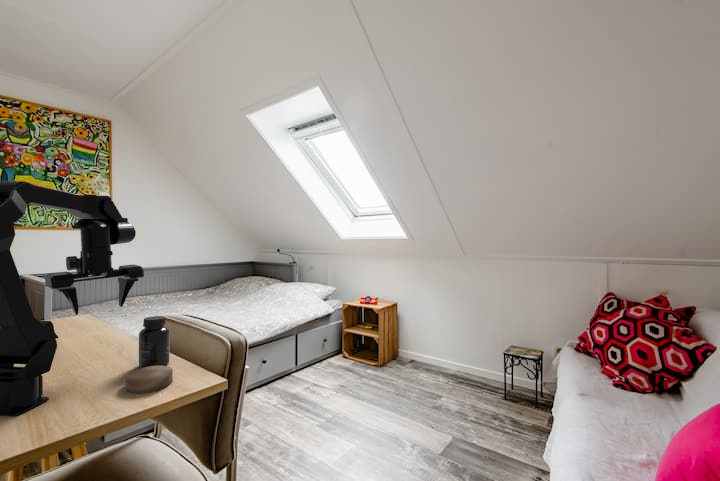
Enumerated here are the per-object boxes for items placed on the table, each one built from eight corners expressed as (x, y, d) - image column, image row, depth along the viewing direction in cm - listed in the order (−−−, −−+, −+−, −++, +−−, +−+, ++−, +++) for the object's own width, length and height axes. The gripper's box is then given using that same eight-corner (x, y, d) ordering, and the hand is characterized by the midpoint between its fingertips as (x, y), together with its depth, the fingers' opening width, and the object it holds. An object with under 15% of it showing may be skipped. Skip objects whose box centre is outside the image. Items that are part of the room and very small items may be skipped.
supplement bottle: (174, 364, 92) (175, 317, 92) (146, 372, 86) (146, 322, 86) (161, 358, 96) (161, 313, 96) (133, 366, 90) (133, 318, 90)
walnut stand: (156, 394, 75) (156, 382, 75) (115, 392, 76) (115, 380, 75) (180, 376, 84) (180, 366, 84) (143, 375, 84) (143, 364, 84)
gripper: (126, 242, 99) (128, 297, 100) (36, 247, 84) (41, 312, 86) (143, 245, 92) (146, 304, 94) (49, 251, 78) (54, 322, 79)
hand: (99, 310), depth 88 cm, fingers open, 9 cm apart
